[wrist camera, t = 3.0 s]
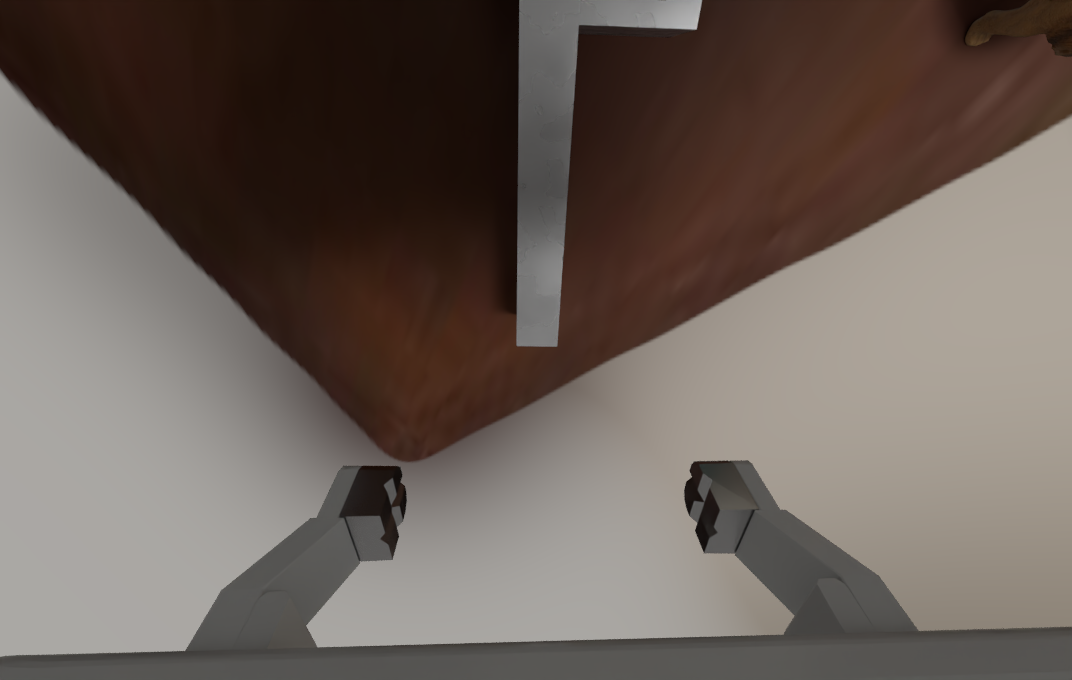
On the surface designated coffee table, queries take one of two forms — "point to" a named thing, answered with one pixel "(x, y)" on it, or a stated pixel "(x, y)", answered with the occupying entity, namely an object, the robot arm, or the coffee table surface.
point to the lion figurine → (1028, 24)
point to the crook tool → (562, 133)
